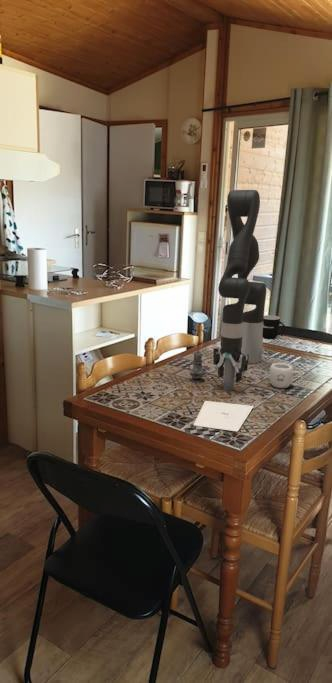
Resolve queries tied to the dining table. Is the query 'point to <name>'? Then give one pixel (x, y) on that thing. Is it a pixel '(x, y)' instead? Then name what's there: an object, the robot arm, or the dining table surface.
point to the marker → (229, 374)
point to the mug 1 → (271, 327)
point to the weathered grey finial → (197, 368)
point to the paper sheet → (222, 415)
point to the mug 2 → (282, 375)
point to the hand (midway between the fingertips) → (229, 379)
